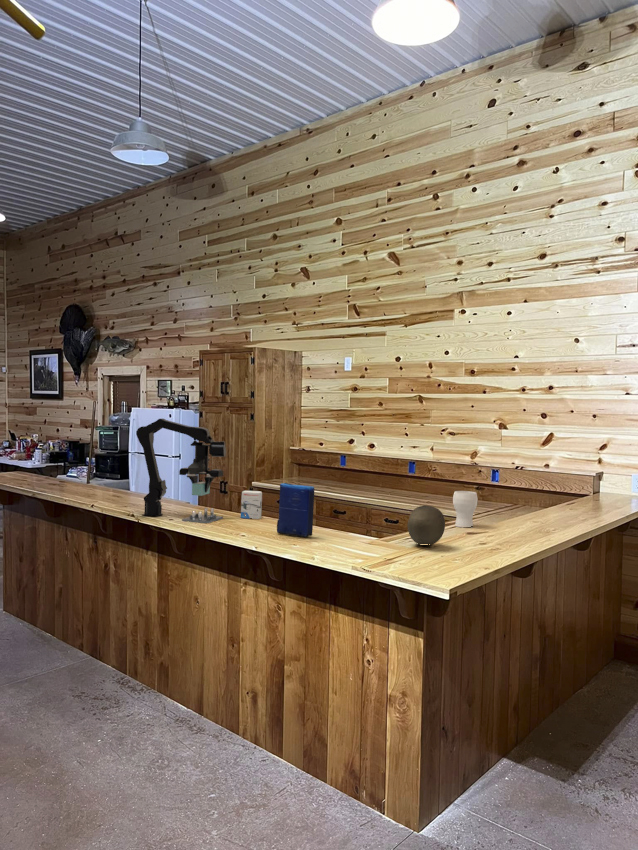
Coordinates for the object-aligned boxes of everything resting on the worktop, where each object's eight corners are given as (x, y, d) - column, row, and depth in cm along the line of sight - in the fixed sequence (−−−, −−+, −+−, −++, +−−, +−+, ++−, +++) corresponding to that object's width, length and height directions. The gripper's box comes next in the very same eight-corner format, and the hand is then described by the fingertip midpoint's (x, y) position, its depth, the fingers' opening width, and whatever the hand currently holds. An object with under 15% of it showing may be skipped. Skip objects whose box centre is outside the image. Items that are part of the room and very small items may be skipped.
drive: (191, 495, 278) (192, 483, 278) (200, 492, 285) (200, 481, 285) (201, 495, 276) (201, 483, 276) (209, 493, 284) (209, 482, 284)
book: (274, 534, 249) (276, 483, 249) (282, 532, 254) (283, 481, 253) (307, 539, 242) (309, 486, 242) (313, 536, 247) (315, 485, 247)
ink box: (240, 518, 282) (241, 491, 282) (242, 516, 287) (243, 490, 287) (259, 519, 282) (260, 492, 281) (261, 517, 287) (262, 491, 286)
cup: (446, 525, 282) (448, 491, 282) (461, 523, 289) (462, 490, 289) (467, 529, 274) (468, 494, 274) (481, 527, 281) (482, 492, 281)
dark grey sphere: (399, 543, 240) (400, 503, 240) (432, 541, 245) (433, 502, 245) (418, 551, 227) (419, 509, 227) (452, 549, 232) (454, 508, 232)
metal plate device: (182, 520, 271) (182, 510, 271) (198, 516, 284) (198, 506, 284) (207, 523, 267) (207, 513, 267) (222, 518, 280) (223, 508, 280)
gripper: (173, 456, 275) (172, 492, 276) (213, 458, 270) (212, 495, 270) (185, 454, 286) (185, 489, 286) (224, 456, 281) (223, 492, 281)
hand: (200, 491), depth 281 cm, fingers closed on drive, 4 cm apart
